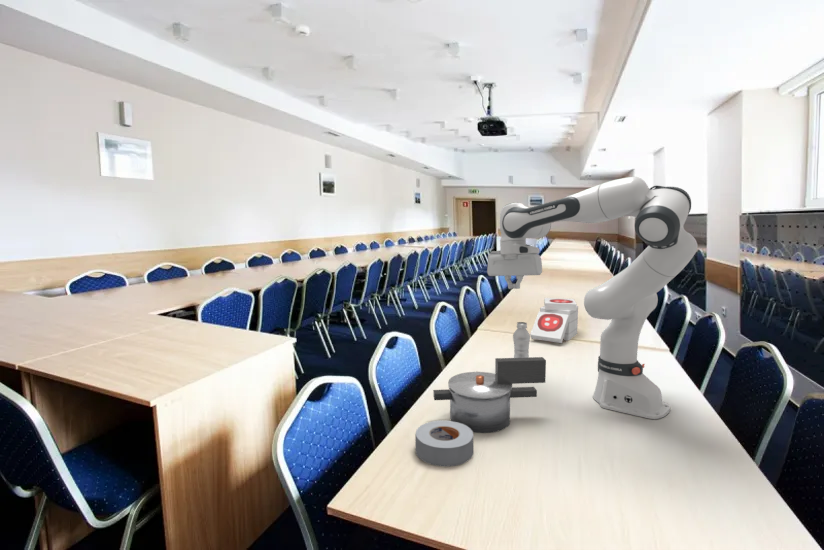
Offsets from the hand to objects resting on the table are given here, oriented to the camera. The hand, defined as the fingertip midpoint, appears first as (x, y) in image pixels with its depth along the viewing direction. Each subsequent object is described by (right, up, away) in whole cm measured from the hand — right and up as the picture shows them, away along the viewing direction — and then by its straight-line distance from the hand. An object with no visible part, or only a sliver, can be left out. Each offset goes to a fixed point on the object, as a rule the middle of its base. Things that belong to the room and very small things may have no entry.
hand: (514, 288), depth 154 cm
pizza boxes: (+37, -27, +67) cm, 81 cm away
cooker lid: (-11, -29, -22) cm, 38 cm away
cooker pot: (-14, -39, -21) cm, 46 cm away
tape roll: (-28, -42, -39) cm, 63 cm away
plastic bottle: (+7, -34, +18) cm, 39 cm away
